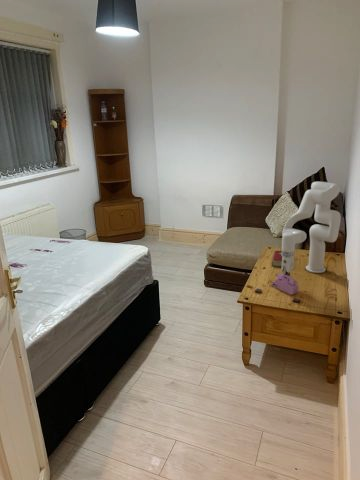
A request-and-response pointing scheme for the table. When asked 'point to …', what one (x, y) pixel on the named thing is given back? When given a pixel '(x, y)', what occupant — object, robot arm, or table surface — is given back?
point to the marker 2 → (296, 300)
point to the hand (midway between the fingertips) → (286, 279)
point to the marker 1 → (258, 290)
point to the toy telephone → (286, 284)
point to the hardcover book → (277, 259)
